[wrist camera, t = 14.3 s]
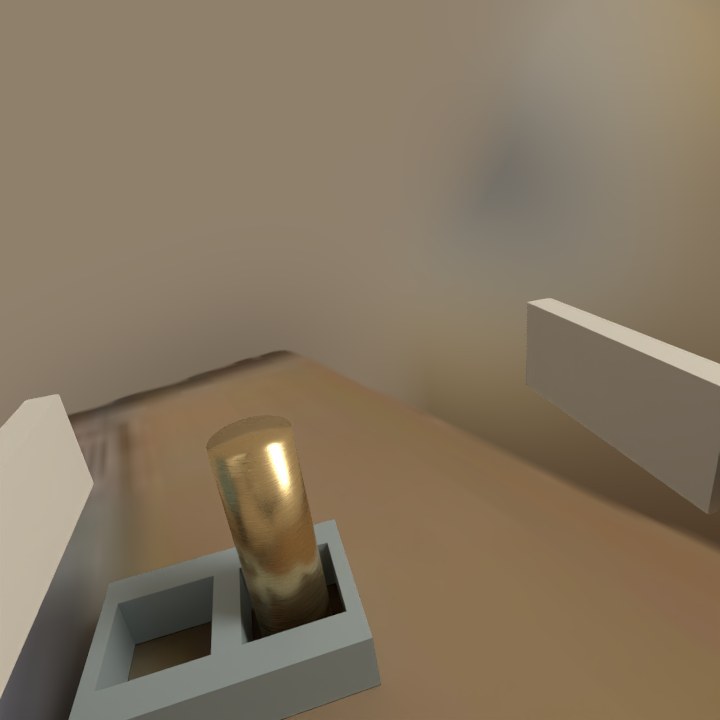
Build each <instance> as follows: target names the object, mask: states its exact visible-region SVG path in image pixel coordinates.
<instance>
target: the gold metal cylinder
mask: <svg viewBox="0 0 720 720" xmlns="http://www.w3.org/2000/svg"><path fill="white" fill-rule="evenodd" d="M206 448H207V452H208V456H209V459H210V463H211V466H212V469H213V473H214V476H215V480H216V483H217V486H218V490H219V493H220V496H221V500H222V503H223V507H224V510H225V513H226V517H227V520H228V524H229V527H230V530H231V534H232V537H233V541H234V544H235V547H236V551H237V554H238V557H239V561H240V564H241V568H242V571H243V574H244V578H245V581H246V585H247V588H248V591H249V595H250V598H251V602H252V605H253V608H254V612H255V615H256V618H257V622H258V625H259V629H260V632H261V635H262V638H265V637H268V636H271V635H274V634H277V633H280V632H283V631H287V630H290V629H293V628H296V627H299V626H302V625H305V624H308V623H312V622H315V621H318V620H321V619H324V618H327V617H330V616H333V613H332V609H331V604H330V600H329V595H328V591H327V586H326V582H325V577H324V572H323V568H322V563H321V559H320V554H319V550H318V545H317V540H316V536H315V531H314V527H313V522H312V518H311V513H310V509H309V504H308V499H307V495H306V490H305V486H304V481H303V477H302V472H301V468H300V463H299V458H298V454H297V449H296V445H295V440H294V436H293V431H292V426H291V424H290V422H289V421H288V420H286V419H284V418H282V417H278V416H256V417H250V418H246V419H243V420H239V421H237V422H234V423H232V424H229V425H227V426H225V427H224V428H222V429H220V430H219V431H218V432H216V433H215V434H214V435H213V436H212V437H211V438H210V439H209V441H208V443H207V446H206Z"/></svg>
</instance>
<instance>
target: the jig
mask: <svg viewBox="0 0 720 720" xmlns="http://www.w3.org/2000/svg"><path fill="white" fill-rule="evenodd" d="M313 527H314V531H315V536H316V540H317V545H318V550H319V554H320V559H321V563H322V568H323V572H324V577H325V582H326V586H327V585H330V584H334V583H336V585H337V589H338V593H339V596H340V600H341V604H342V607H343V611H344V612H343V613H340V614H336V615H333V616H330V617H327V618H324V619H321V620H318V621H315V622H312V623H308V624H305V625H302V626H299V627H296V628H293V629H290V630H287V631H283V632H280V633H277V634H274V635H271V636H268V637H265V638H262V639H258V640H255V641H253V632H252V614H251V609H252V608H253V605H252V602H251V598H250V595H249V591H248V588H247V585H246V581H245V578H244V574H243V571H242V568H241V564H240V561H239V557H238V554H237V551H236V547H235V548H231V549H227V550H224V551H220V552H217V553H213V554H210V555H206V556H203V557H199V558H196V559H192V560H189V561H185V562H182V563H178V564H175V565H171V566H168V567H164V568H161V569H157V570H153V571H150V572H146V573H143V574H139V575H136V576H132V577H129V578H125V579H122V580H118V581H115V582H111V583H110V584H109V587H108V591H107V594H106V597H105V601H104V604H103V607H102V611H101V614H100V617H99V621H98V624H97V627H96V630H95V634H94V637H93V640H92V644H91V647H90V650H89V654H88V657H87V660H86V664H85V667H84V670H83V674H82V677H81V680H80V684H79V687H78V690H77V694H76V697H75V700H74V703H73V707H72V710H71V713H70V717H69V720H281V719H284V718H287V717H290V716H293V715H296V714H298V713H301V712H304V711H307V710H310V709H313V708H315V707H318V706H321V705H324V704H327V703H330V702H332V701H335V700H338V699H341V698H344V697H347V696H349V695H352V694H355V693H358V692H361V691H364V690H366V689H369V688H372V687H375V686H378V685H381V682H380V676H379V671H378V665H377V660H376V654H375V649H374V643H373V638H372V635H371V632H370V628H369V625H368V622H367V619H366V616H365V613H364V610H363V607H362V604H361V600H360V597H359V594H358V591H357V588H356V585H355V582H354V579H353V576H352V573H351V569H350V566H349V563H348V560H347V557H346V554H345V551H344V548H343V545H342V541H341V538H340V535H339V532H338V529H337V526H336V523H335V520H334V519H333V520H330V521H326V522H323V523H319V524H316V525H313ZM210 621H212V638H211V655H208V656H205V657H202V658H199V659H196V660H193V661H190V662H187V663H183V664H180V665H177V666H174V667H171V668H168V669H165V670H162V671H159V672H155V673H152V674H149V675H146V676H143V677H140V678H137V679H134V680H130V681H128V677H129V672H130V667H131V662H132V657H133V653H134V648H135V645H136V644H139V643H142V642H145V641H149V640H152V639H155V638H158V637H162V636H165V635H168V634H171V633H175V632H178V631H181V630H184V629H188V628H191V627H194V626H197V625H201V624H204V623H207V622H210Z"/></svg>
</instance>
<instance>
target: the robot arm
mask: <svg viewBox="0 0 720 720" xmlns="http://www.w3.org/2000/svg"><path fill="white" fill-rule="evenodd" d="M526 358H527V360H526V385H527V386H529V387H530V388H532V389H533V390H534V391H536V392H537V393H539V394H540V395H541V396H543V397H544V398H546V399H547V400H548V401H550V402H551V403H553V404H554V405H556V406H557V407H558V408H560V409H561V410H563V411H564V412H565V413H567V414H568V415H569V416H571V417H572V418H574V419H575V420H576V421H578V422H579V423H581V424H582V425H583V426H585V427H586V428H588V429H589V430H591V431H592V432H593V433H595V434H596V435H597V436H599V437H600V438H602V439H603V440H605V441H606V442H607V443H609V444H610V445H611V446H613V447H614V448H616V449H617V450H618V451H620V452H621V453H623V454H624V455H626V456H627V457H628V458H630V459H631V460H632V461H634V462H635V463H637V464H638V465H640V466H641V467H642V468H644V469H645V470H647V471H648V472H649V473H651V474H652V475H654V476H655V477H656V478H658V479H659V480H661V481H662V482H664V483H665V484H666V485H668V486H669V487H670V488H672V489H673V490H675V491H676V492H677V493H679V494H680V495H682V496H683V497H684V498H686V499H687V500H689V501H690V502H691V503H693V504H694V505H696V506H697V507H698V508H700V509H701V510H703V511H704V512H706V513H707V514H710V513H713V512H716V511H720V364H718V363H716V362H713V361H711V360H708V359H705V358H703V357H700V356H698V355H695V354H693V353H690V352H687V351H685V350H682V349H680V348H677V347H675V346H672V345H670V344H667V343H664V342H662V341H659V340H657V339H654V338H652V337H649V336H646V335H644V334H641V333H639V332H636V331H634V330H631V329H629V328H626V327H623V326H620V325H618V324H616V323H613V322H611V321H608V320H605V319H603V318H600V317H598V316H595V315H593V314H590V313H587V312H585V311H582V310H579V309H577V308H575V307H572V306H570V305H567V304H564V303H562V302H559V301H557V300H554V299H551V298H547V299H541V300H537V301H531V302H527V357H526ZM93 484H94V483H93V481H92V478H91V475H90V473H89V470H88V468H87V465H86V463H85V460H84V458H83V455H82V452H81V450H80V447H79V445H78V442H77V440H76V437H75V435H74V432H73V429H72V427H71V424H70V422H69V419H68V417H67V414H66V412H65V409H64V406H63V404H62V402H61V399H60V396H59V394H56V395H50V396H45V397H40V398H35V399H31V400H26V401H25V402H24V403H23V404H22V405H21V406H20V407H19V408H18V409H17V411H16V412H15V413H14V414H13V415H12V416H11V417H10V418H9V420H8V421H7V422H6V423H5V424H4V425H3V426H2V427H1V429H0V698H1V695H2V693H3V691H4V689H5V686H6V684H7V682H8V679H9V677H10V675H11V672H12V670H13V668H14V666H15V663H16V661H17V659H18V656H19V654H20V652H21V649H22V647H23V645H24V643H25V640H26V638H27V636H28V633H29V631H30V629H31V627H32V624H33V622H34V620H35V617H36V615H37V613H38V610H39V608H40V606H41V604H42V601H43V599H44V597H45V594H46V592H47V590H48V587H49V585H50V583H51V581H52V578H53V576H54V574H55V571H56V569H57V567H58V565H59V562H60V560H61V558H62V555H63V553H64V551H65V548H66V546H67V544H68V542H69V539H70V537H71V535H72V532H73V530H74V528H75V525H76V523H77V521H78V519H79V516H80V514H81V512H82V509H83V507H84V505H85V503H86V500H87V498H88V496H89V493H90V491H91V489H92V486H93Z"/></svg>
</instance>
